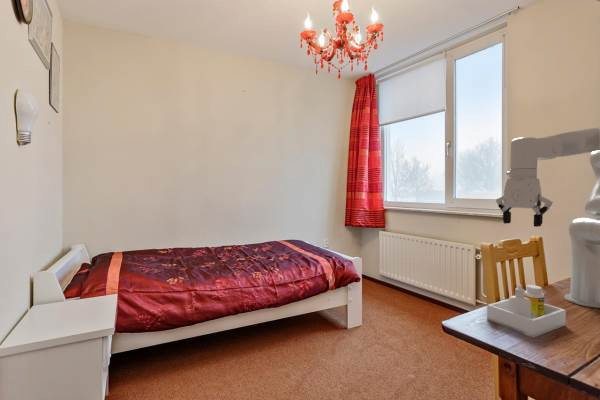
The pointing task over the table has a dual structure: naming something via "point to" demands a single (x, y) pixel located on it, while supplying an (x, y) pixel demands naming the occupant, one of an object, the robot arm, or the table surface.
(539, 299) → the supplement bottle
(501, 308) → the box
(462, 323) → the table surface
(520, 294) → the eye dropper bottle
